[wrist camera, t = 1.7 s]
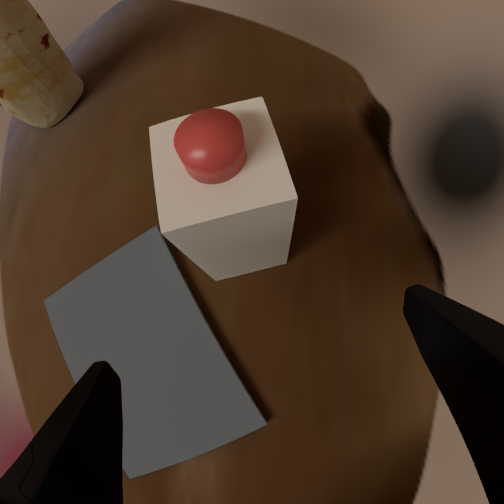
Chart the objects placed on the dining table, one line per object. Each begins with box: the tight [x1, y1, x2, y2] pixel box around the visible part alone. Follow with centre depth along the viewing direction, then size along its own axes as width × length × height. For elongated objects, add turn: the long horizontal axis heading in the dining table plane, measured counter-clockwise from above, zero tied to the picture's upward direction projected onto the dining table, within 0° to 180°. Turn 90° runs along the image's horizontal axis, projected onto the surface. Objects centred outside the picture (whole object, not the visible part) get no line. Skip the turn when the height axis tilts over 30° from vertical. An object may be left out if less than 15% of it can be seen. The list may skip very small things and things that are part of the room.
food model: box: [0, 0, 84, 128], centre depth 18 cm, size 10×7×20 cm
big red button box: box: [149, 97, 298, 281], centre depth 16 cm, size 5×5×12 cm
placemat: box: [44, 226, 267, 478], centre depth 20 cm, size 16×12×1 cm
